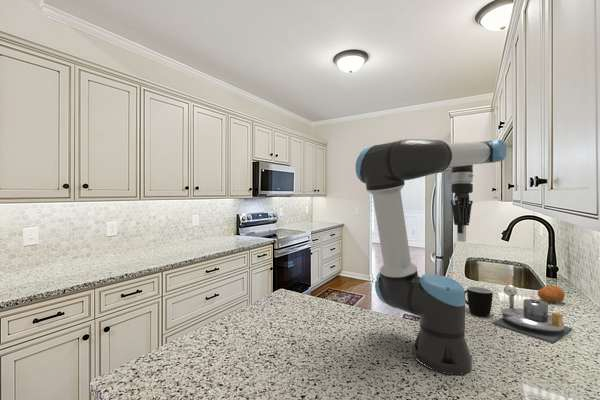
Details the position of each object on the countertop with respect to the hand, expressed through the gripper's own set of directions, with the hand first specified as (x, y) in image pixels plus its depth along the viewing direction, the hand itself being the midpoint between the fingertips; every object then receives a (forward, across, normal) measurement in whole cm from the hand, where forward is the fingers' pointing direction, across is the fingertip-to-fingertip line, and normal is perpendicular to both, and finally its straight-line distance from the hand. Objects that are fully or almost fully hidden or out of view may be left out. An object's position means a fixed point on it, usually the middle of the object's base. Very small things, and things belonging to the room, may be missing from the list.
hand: (461, 241), depth 116 cm
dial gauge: (+30, +23, -9) cm, 39 cm away
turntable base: (+30, +13, -19) cm, 38 cm away
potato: (+31, +56, -13) cm, 65 cm away
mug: (+31, +10, -1) cm, 32 cm away
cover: (+27, +12, -20) cm, 36 cm away
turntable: (+28, +13, -19) cm, 36 cm away
